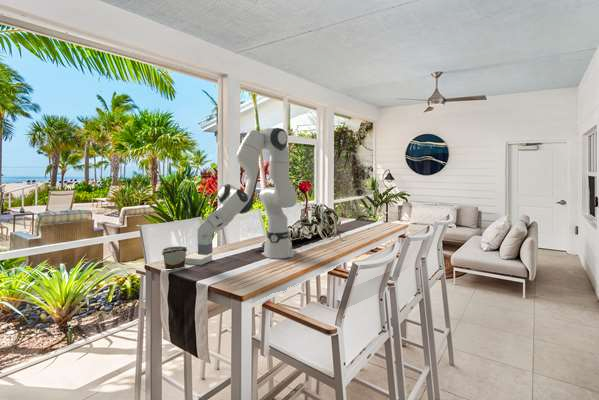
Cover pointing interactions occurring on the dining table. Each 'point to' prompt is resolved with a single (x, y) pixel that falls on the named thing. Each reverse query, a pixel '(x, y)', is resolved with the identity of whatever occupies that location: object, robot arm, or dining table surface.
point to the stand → (198, 259)
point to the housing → (205, 244)
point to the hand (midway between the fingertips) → (203, 236)
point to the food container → (174, 257)
